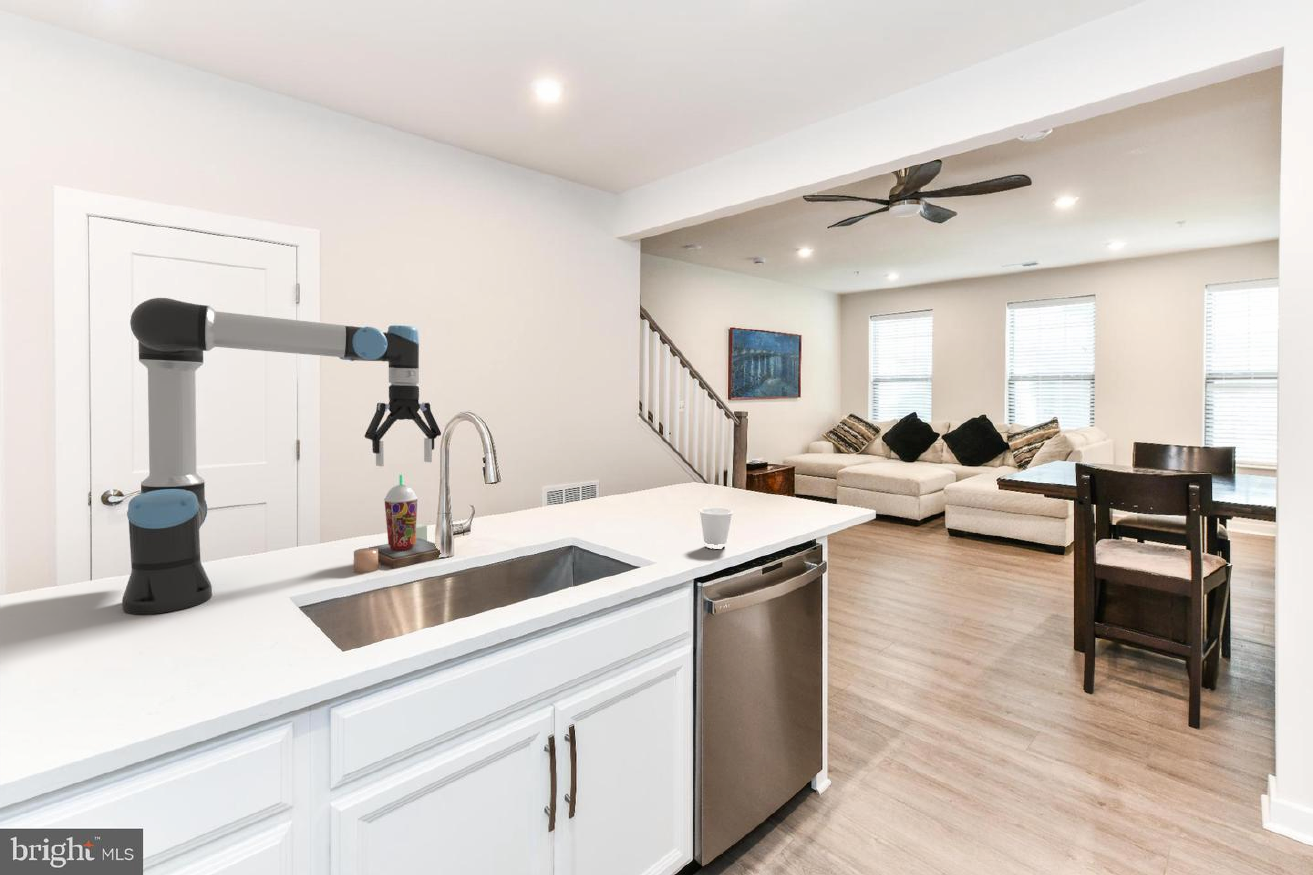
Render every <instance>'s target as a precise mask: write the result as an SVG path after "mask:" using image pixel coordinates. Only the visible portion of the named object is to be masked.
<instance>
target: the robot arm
mask: <svg viewBox="0 0 1313 875" xmlns="http://www.w3.org/2000/svg"><path fill="white" fill-rule="evenodd" d="M129 323H130V324H129V325H130V328H131V329H130V330H131V332H132V334H133V336H134V337H135V338H136V340H137V343H138V361H139V363H141V364H142V365H143V366H144V367H146V370H147V396H148V397H147V398H148V400H147V402H148V404H147V406H148V409H147V410H148V414H147V415H148V460H149V461H148V468H149V469H148V470H149V475H148V476H147V477H146V478H145V479H144V480H142V481H141V483H140V493H139V494H137V495H135V496H134V497H132V498H131V499H130V501H129V502H128V504H127V506H128V507H127V508H128V509H127V511H126V517H127V520H128V529H129V530H128V531H129V548H130V562H131V563H130V564H131V566H130V568H131V572H130V575H129V578H128V581H127V583H126V584H127V585H126V587H125V590H124V593H123V596H122V600H121V602H122V604H121V605H122V611H123V612H124V613H127V614H132V615H155V614H163V613H168V612H175V611H180V610H185V609H188V608H191V607H195V606H197V605H200V604H203V603H205V602H207V601H208V600H210V599H211V598H213V586H212V583H211V582H210V579H209V577H208V575H207V572H206V571H205V569H204V566H203V564H202V562H201V545H200V544H201V543H200V538H201V537H200V529H201V527H202V526H203V524H204V523H205V520H206V518H207V515H208V505H207V501H206V497H205V496H206V494H205V493H206V492H205V491H206V490H205V482H206V481H205V479H204V478H203V477H201V476H199V475H198V473H197V415H196V414H197V410H196V409H197V408H196V407H197V405H196V404H197V400H196V399H197V398H196V392H197V391H196V390H197V389H196V371H197V370H198V369H199V368H200V367H201V366H203V365H204V351H205V352H209V351H211V350H212V349H214V348H222V349H223V348H224V349H225V348H227V349H236V350H237V349H238V350H248V351H249V350H251V351H261V352H264V351H265V352H273V353H283V354H285V353H287V354H299V355H308V356H311V355H312V356H324V357H334V358H339V359H340V360H344V361H345V360H346V361H352V362H355V361H360V362H361V361H363V362H387V363H388V383H389V384H390V385H389V386H388V399H389V400H388V403H384V402H377V404H376V411H375V413H374V415H373V417H372V420H371V421H370V423H369V426H368V428H367V430H366V431H365V433H364V438H365V439H368V440H371V442H372V448H371V449H372V453H373V454H375V466H378V467H384V466H385V465H384V460H385V459H384V441H383V440H382V438H383V437H384V435H386V433H387V432H388V431H389V429H390V428H391V427H392V425H393V424H394V423H395V422H397V421H398V420H399V421H401V420H408V421H409V420H410V421H411V420H412V421H413V422H414V423H415V424H416V425H417V427H418V428H419V429H420V430H421V432H422V433H423V434H424V435H425V436H426V437H424V438H423V442H424V443H423V445H424V446H423V454H424V456H423V459H424V460H423V462H425V463H433V451H434V450H435V439H437V438H438V437H439V436H441V435H442V432H441V430H440V428H439V425H438V423H437V421H436V419H435V417H434V415H433V413H432V410H431V404H430V402H422V403H420V402H419V400H420V399H419V398H420V387H419V385H418V384H419V383H420V369H419V368H420V363H419V362H420V358H419V357H420V353H419V352H420V340H419V330H418V329H417V328H416V327H415V326H410V325H397V324H395V325H389V326H388V328H387V332H382V330H380V329H378V328H376V327H372V326H363V327H362V326H361V327H360V326H353V325H344V324H335V323H325V322H317V321H309V320H308V321H307V320H306V321H305V320H298V319H291V318H290V319H288V318H280V317H269V316H260V315H252V314H244V313H243V314H242V313H234V312H233V313H232V312H224V311H216V310H215V309H214V308H213V307H211V306H210V305H203V304H197V303H196V304H195V303H191V302H187V301H181V300H177V299H173V298H169V297H168V298H167V297H154V298H151V299H147V300H145V301H143V302H141V303H139V304H138V305H137V306H136V307H135V309H133V312H132V314H130V320H129ZM388 410H389V414H388V415H387V416H386V419H385V420H384V422H382V420H383V418H384V416H385V413H386V412H387V411H388ZM418 411H421V412H422V414H423V416H424V418H425V420H426V422H425V420H424V419H423V418H422V416H421V415H420V414H419V413H418ZM381 422H382V423H381ZM427 424H428V425H427Z"/></svg>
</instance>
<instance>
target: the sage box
mask: <svg viewBox="0 0 1313 875" xmlns="http://www.w3.org/2000/svg"><path fill="white" fill-rule="evenodd" d="M416 538H420V539H423V540H426V541H428V526H427V524H423V523H422V524H420V523H416Z"/></svg>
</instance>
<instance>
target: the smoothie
mask: <svg viewBox="0 0 1313 875" xmlns="http://www.w3.org/2000/svg"><path fill="white" fill-rule="evenodd" d="M398 477H399V484H398V485H395V486H393V487H392V488H390V490H389V491H388V492H387V493H386V495H385V497H384V500H383V501H384V509H385V521H386V533H387V544H389V545H390V548H391V549H392V550H395V551H403V550H409V549H411V548H413V546H414V543H415V540H416V524H417V517H418V514H417V513H418V499H419V497H418V496H417V494H416V493H415V491H414V490H413V489H412V488H411V487H410V486H409V485H408V486H407V485H404V484H403V475H402V474H399V476H398Z"/></svg>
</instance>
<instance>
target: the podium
mask: <svg viewBox="0 0 1313 875" xmlns="http://www.w3.org/2000/svg"><path fill="white" fill-rule="evenodd" d="M435 544H436V543H434V542H431V541H429V540H427V541H426V540H423V539H420V538H416V540H415V543H414V546H413V548H411V549H409V550H403V551H395V550H392V549H391V548H390V545H389V544H388V543H385V544H379V545H375V546H369V547H368V548H376V549H378V564H381V565H383V566H386V567H388V568H391V569H393V570H395V569H398V568H403V567H407V566H412V565H416V564H421V563H426V561H427V562H431V561H436V560H438V559H437V558H438V557H439V555H440V554H441V553H440V550H438V549H437V548H436V546H435ZM435 559H436V560H435Z"/></svg>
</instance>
